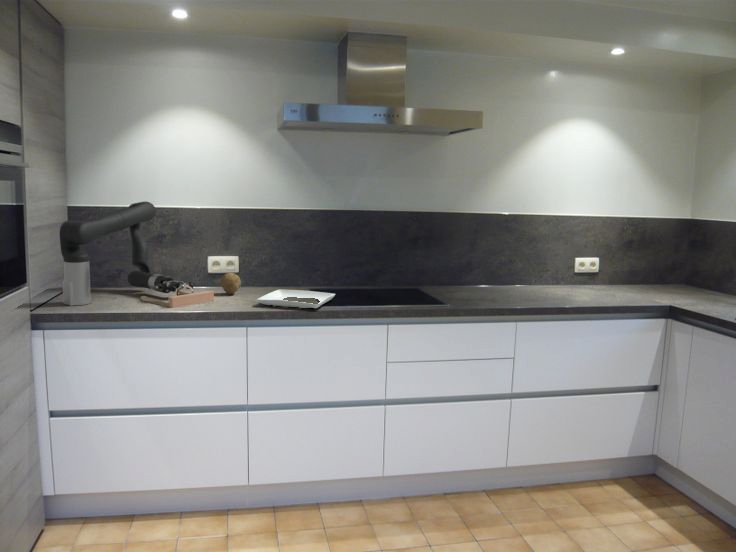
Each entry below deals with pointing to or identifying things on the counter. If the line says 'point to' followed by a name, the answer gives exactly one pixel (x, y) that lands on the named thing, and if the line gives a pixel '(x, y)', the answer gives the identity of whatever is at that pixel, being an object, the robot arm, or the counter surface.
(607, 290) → the counter surface
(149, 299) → the birch track
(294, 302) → the square plate
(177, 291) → the ring
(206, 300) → the bar
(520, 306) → the counter surface
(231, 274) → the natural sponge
